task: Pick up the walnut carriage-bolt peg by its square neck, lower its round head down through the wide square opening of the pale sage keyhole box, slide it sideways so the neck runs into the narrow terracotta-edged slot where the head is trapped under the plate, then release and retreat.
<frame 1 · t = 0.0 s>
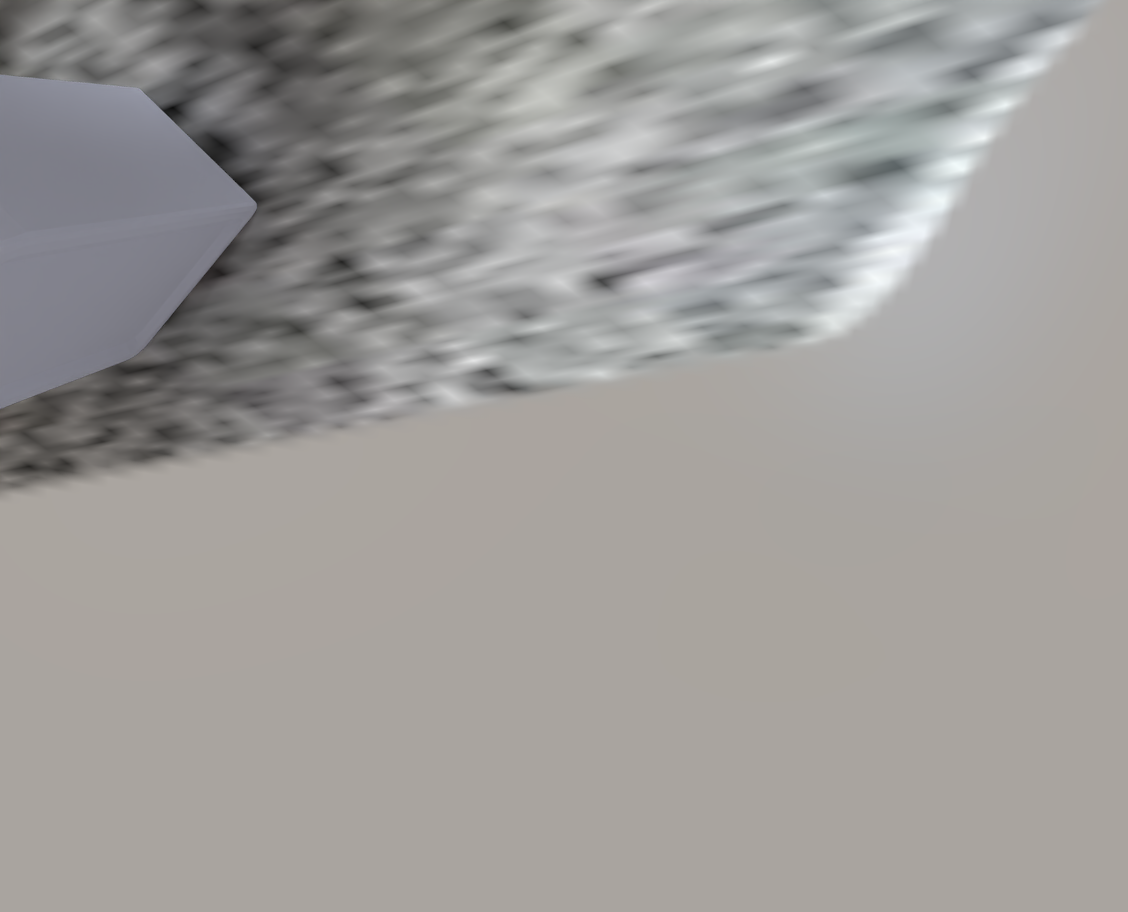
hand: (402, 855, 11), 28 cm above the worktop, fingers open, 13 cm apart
soap bottle: (151, 234, 39), on the worktop
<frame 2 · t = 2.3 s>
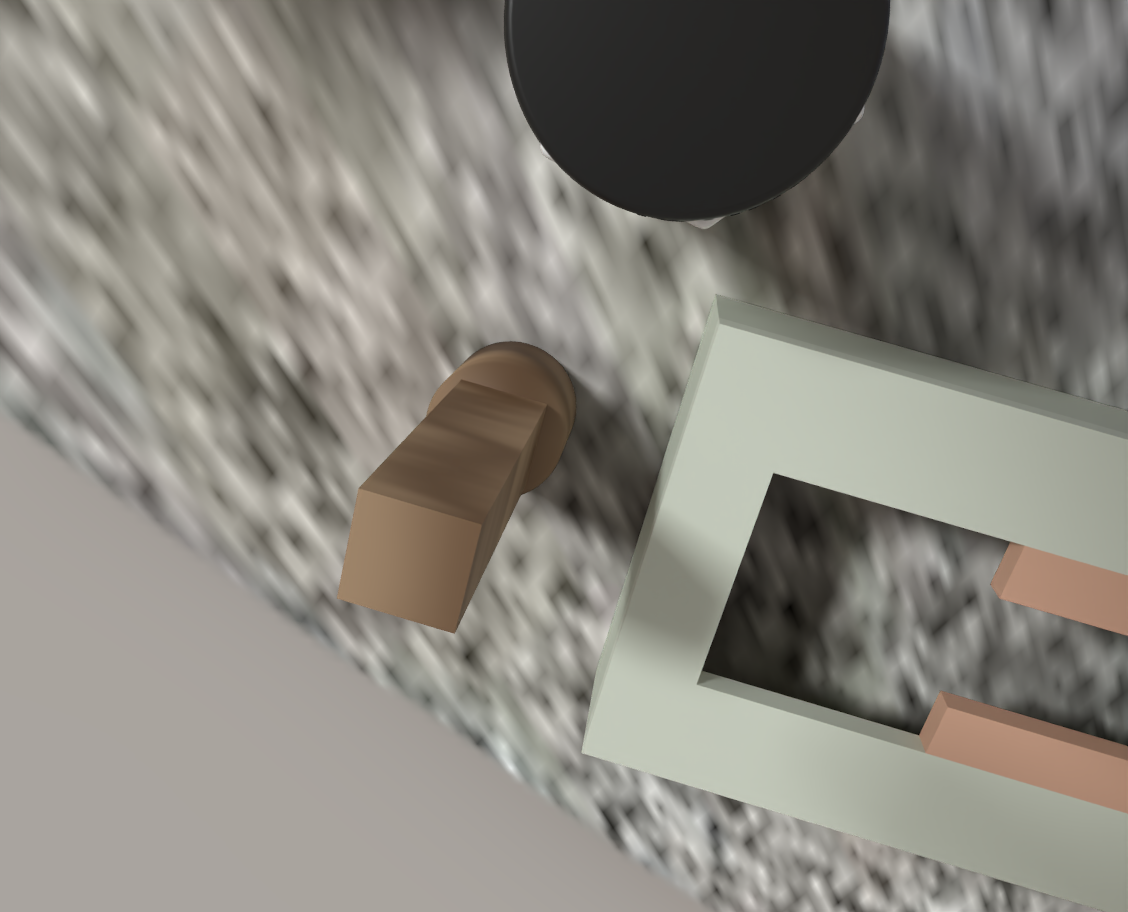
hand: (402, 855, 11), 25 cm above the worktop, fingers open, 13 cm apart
jar: (692, 63, 31), on the worktop
keyhole box: (932, 578, 36), on the worktop
bolt peg: (513, 404, 36), on the worktop
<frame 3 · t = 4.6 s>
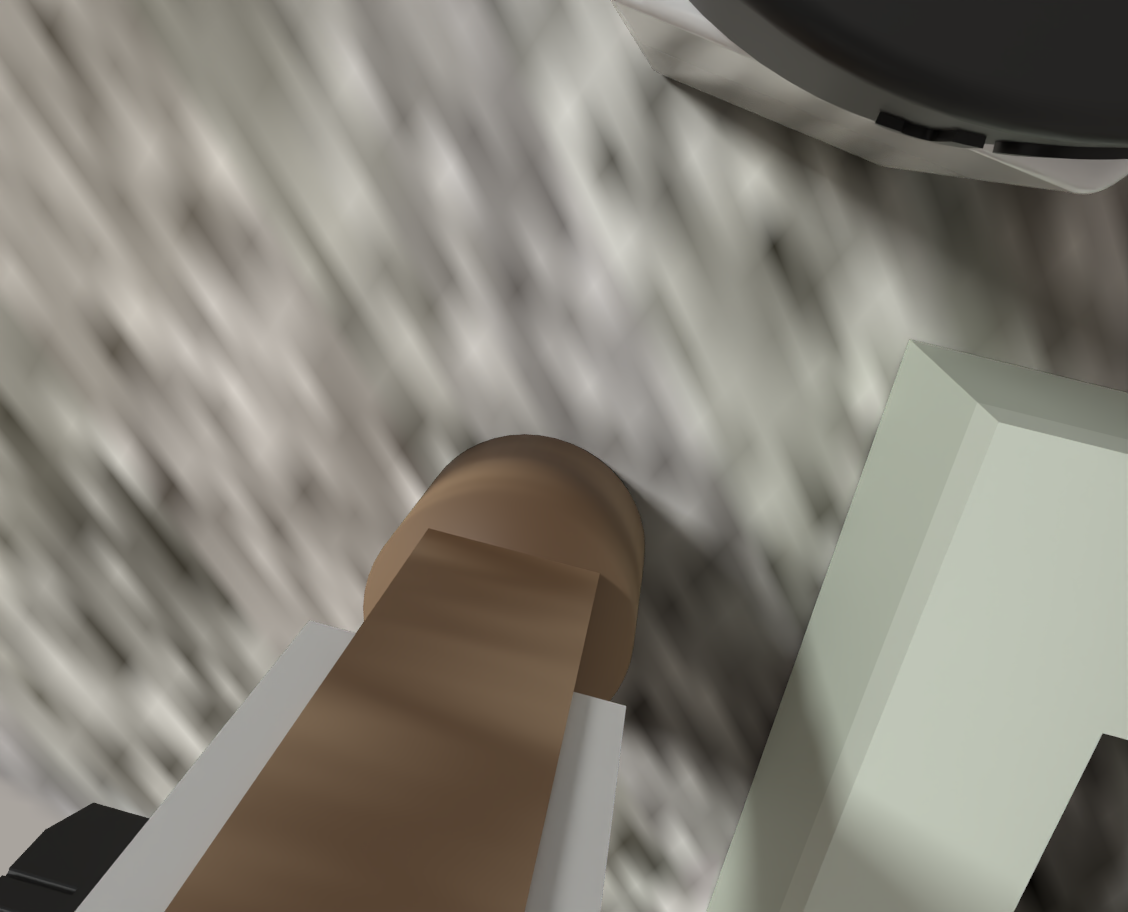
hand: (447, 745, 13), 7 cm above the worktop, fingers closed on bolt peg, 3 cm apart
bolt peg: (530, 543, 20), on the worktop, touching gripper
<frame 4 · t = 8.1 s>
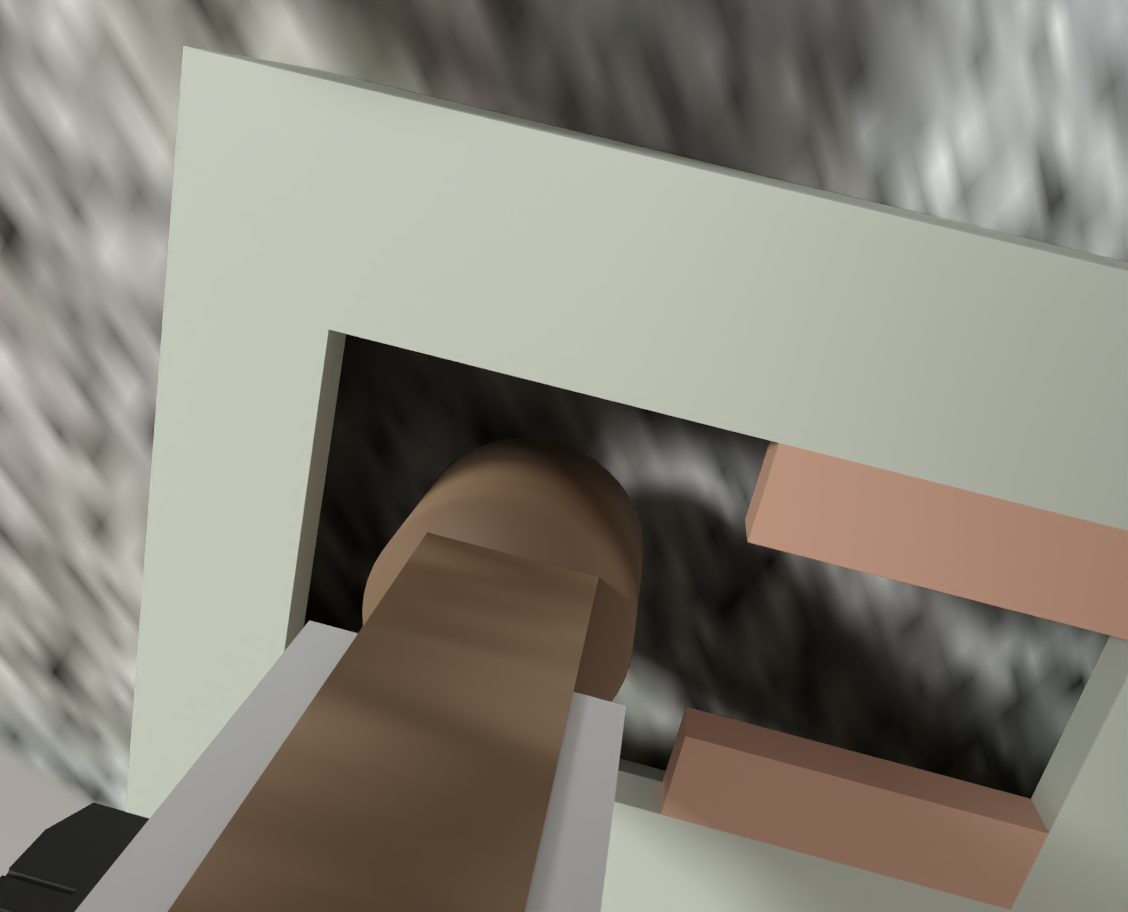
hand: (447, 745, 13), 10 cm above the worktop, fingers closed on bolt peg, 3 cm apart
keyhole box: (710, 527, 23), on the worktop
bolt peg: (529, 547, 20), point 3 cm above the worktop, touching gripper
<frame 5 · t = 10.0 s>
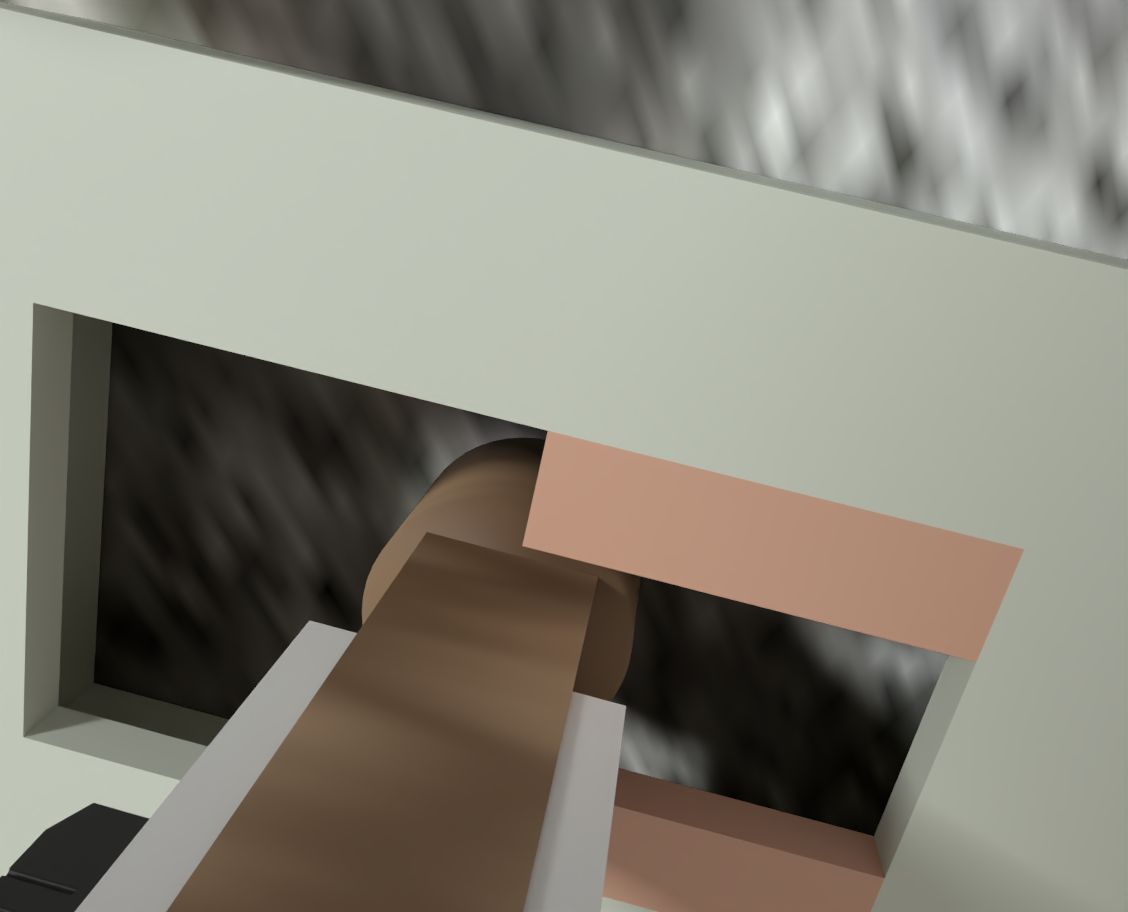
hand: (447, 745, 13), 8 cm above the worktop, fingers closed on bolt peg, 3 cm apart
keyhole box: (546, 528, 20), on the worktop
bolt peg: (529, 546, 20), point 1 cm above the worktop, touching gripper
when the fingers open (7 cm above the worktop, at t = 11.7 s): bolt peg stays where it is, resting in keyhole box.
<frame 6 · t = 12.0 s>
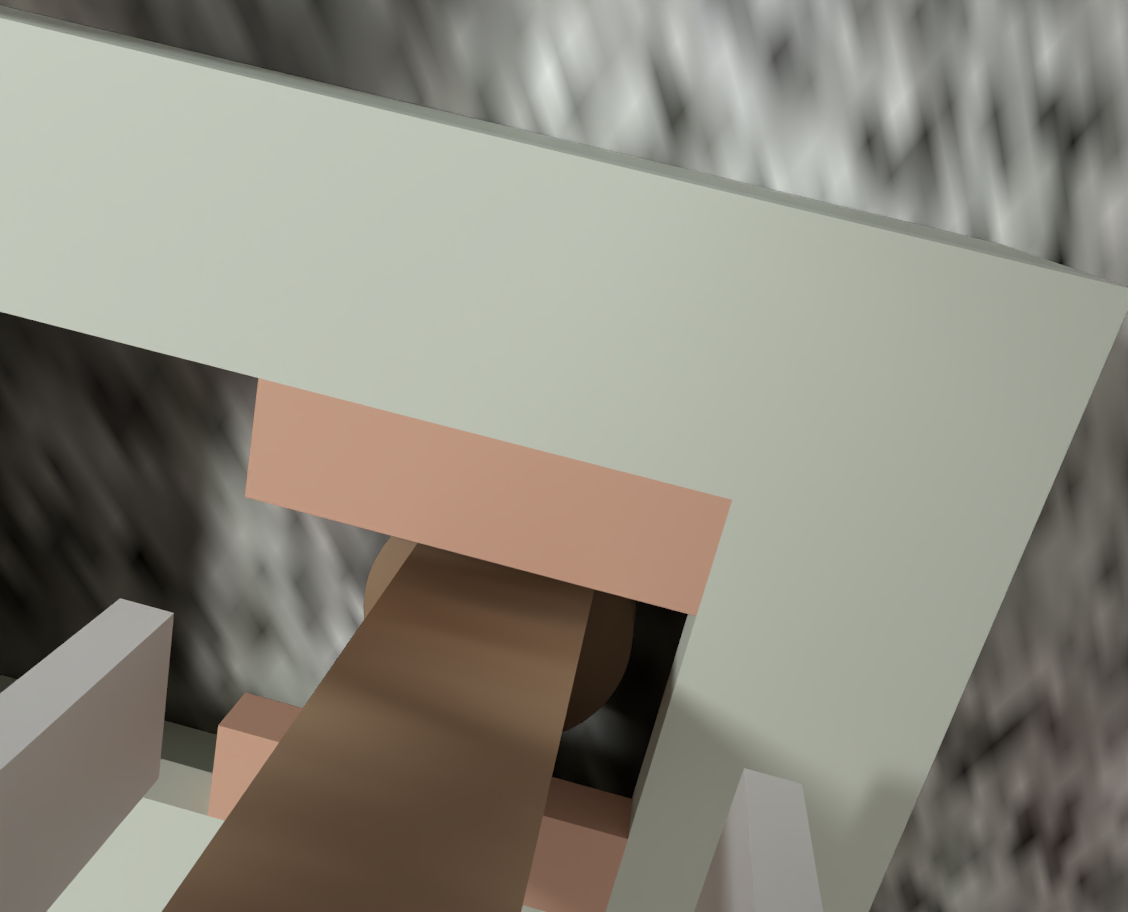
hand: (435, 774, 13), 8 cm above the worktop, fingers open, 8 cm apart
keyhole box: (350, 494, 20), on the worktop
bolt peg: (529, 543, 20), resting in keyhole box
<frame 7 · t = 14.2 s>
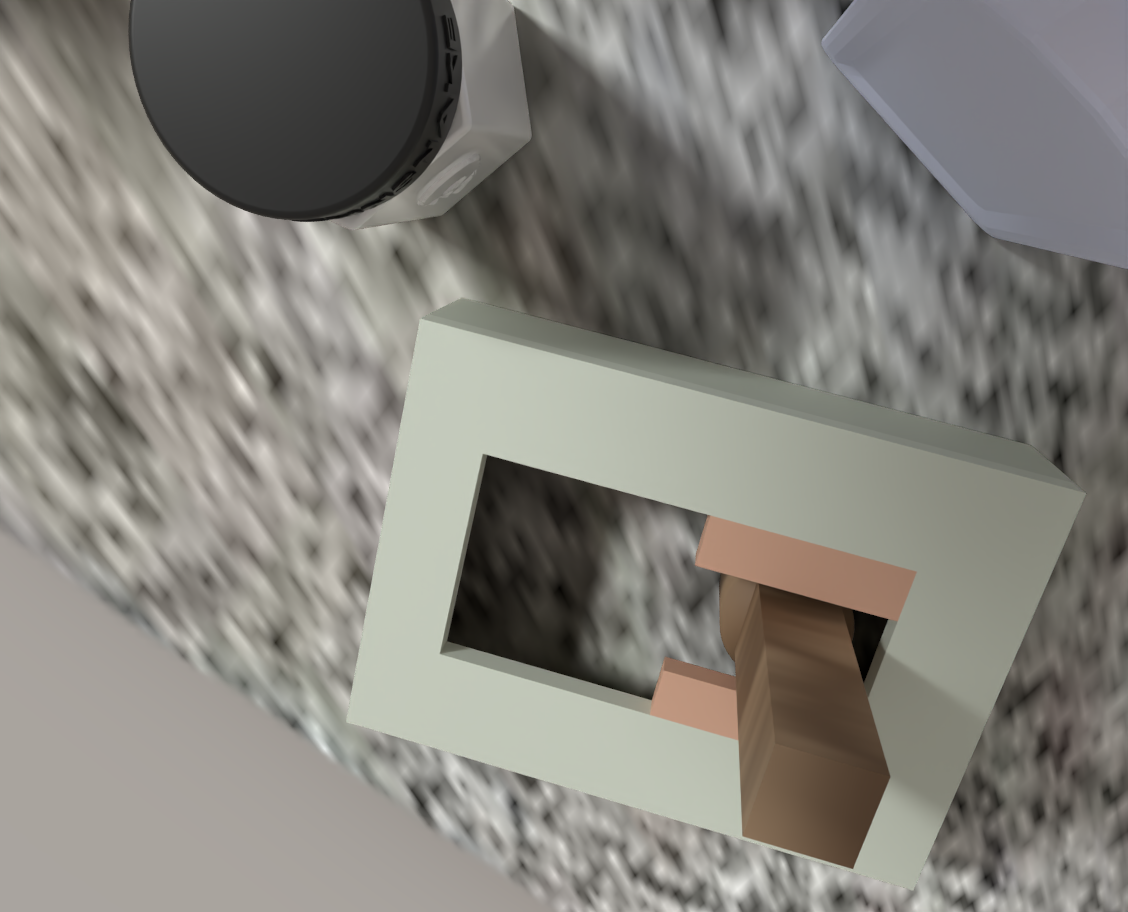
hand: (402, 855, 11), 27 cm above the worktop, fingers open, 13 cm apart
jar: (422, 91, 35), on the worktop
soap bottle: (986, 66, 32), on the worktop
keyhole box: (683, 558, 38), on the worktop
bolt peg: (779, 585, 38), resting in keyhole box
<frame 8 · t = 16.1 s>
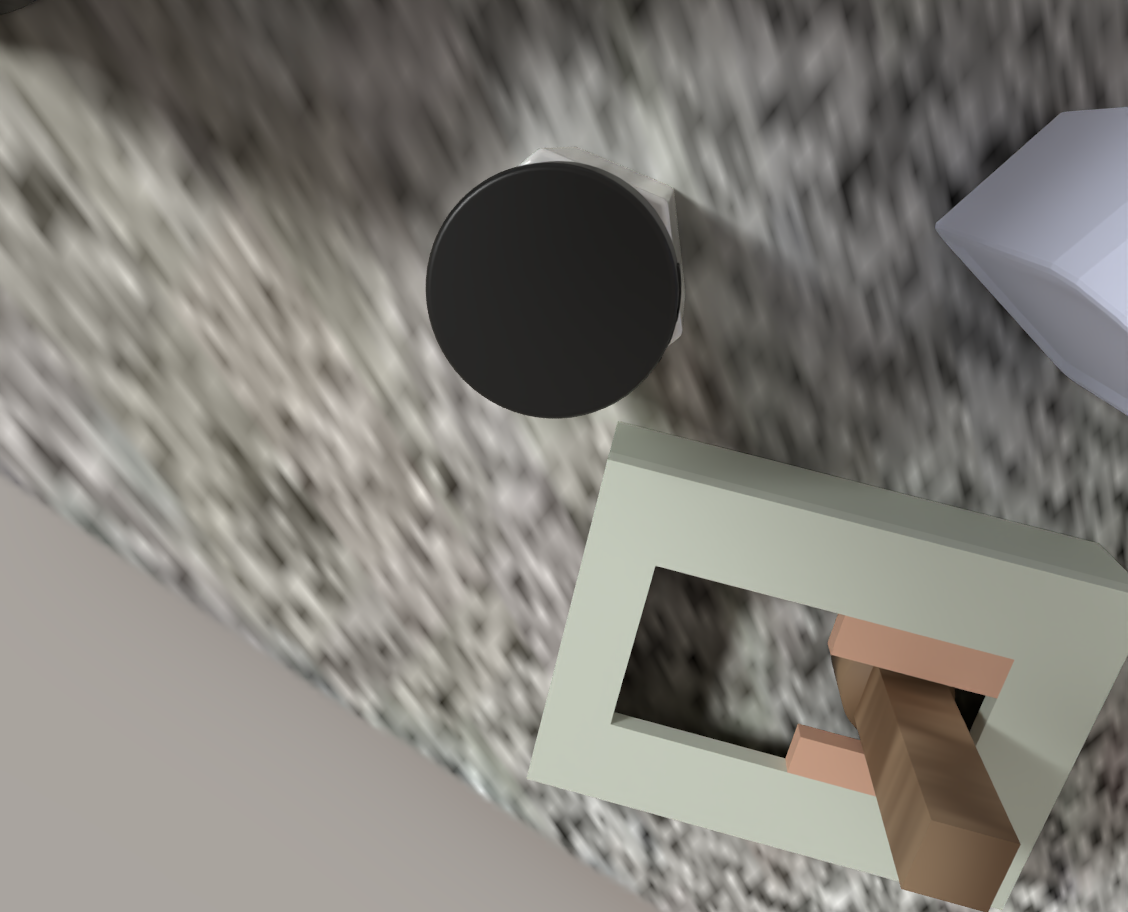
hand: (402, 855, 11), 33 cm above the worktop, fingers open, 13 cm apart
jar: (589, 253, 41), on the worktop
soap bottle: (1069, 243, 39), on the worktop
keyhole box: (801, 633, 45), on the worktop
bolt peg: (883, 655, 45), resting in keyhole box
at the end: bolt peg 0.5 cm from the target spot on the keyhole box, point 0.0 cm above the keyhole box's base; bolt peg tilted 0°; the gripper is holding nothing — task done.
